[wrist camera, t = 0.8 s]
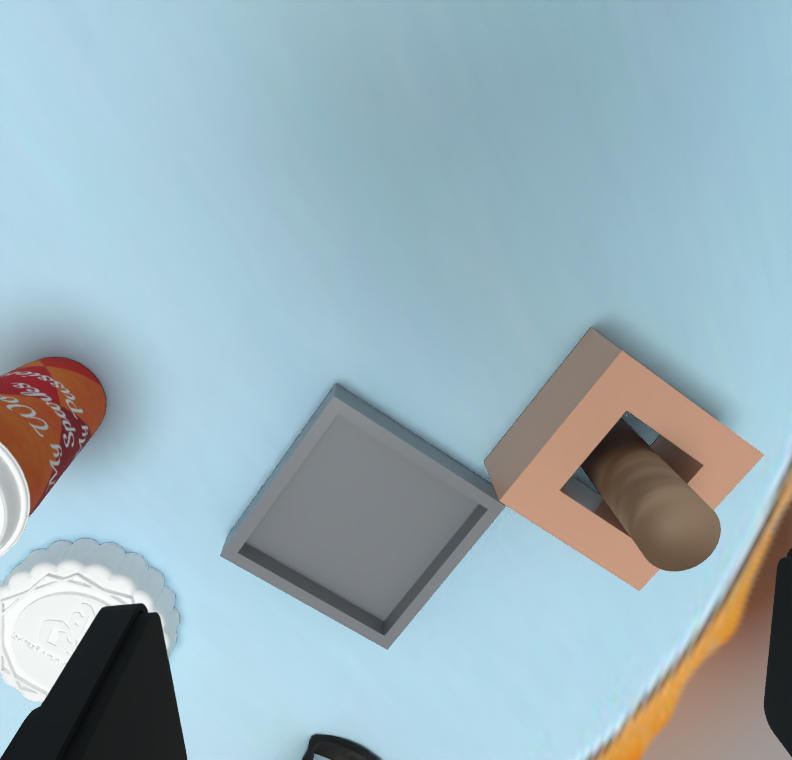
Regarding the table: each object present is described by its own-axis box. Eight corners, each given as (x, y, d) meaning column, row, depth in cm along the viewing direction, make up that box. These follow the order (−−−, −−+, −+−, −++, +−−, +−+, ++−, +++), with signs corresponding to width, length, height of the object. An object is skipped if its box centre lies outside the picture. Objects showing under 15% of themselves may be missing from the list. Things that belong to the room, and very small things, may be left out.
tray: (335, 383, 43) (334, 396, 41) (498, 488, 46) (505, 506, 43) (227, 535, 46) (219, 555, 44) (386, 625, 49) (387, 649, 46)
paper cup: (149, 415, 43) (53, 528, 30) (55, 477, 44) (-79, 613, 31) (65, 313, 41) (-78, 386, 28) (-32, 381, 42) (-216, 483, 29)
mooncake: (215, 600, 48) (203, 633, 44) (118, 710, 50) (100, 750, 47) (64, 503, 45) (40, 531, 42) (-30, 624, 48) (-61, 660, 44)
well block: (591, 327, 43) (622, 350, 37) (717, 420, 45) (764, 454, 40) (483, 461, 45) (499, 500, 40) (609, 543, 47) (639, 590, 42)
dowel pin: (597, 401, 44) (677, 484, 33) (643, 433, 45) (737, 526, 34) (557, 448, 45) (623, 545, 34) (603, 479, 46) (682, 584, 35)
